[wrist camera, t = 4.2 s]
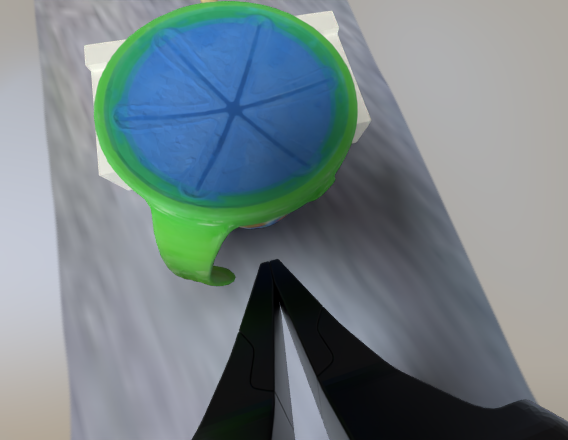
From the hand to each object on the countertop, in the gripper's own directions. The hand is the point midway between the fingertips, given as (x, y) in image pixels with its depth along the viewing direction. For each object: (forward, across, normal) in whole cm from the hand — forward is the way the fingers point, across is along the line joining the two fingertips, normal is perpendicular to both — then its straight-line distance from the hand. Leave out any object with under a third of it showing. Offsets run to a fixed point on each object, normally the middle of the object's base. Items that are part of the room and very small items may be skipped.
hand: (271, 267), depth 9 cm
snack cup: (+10, 0, 0) cm, 10 cm away
